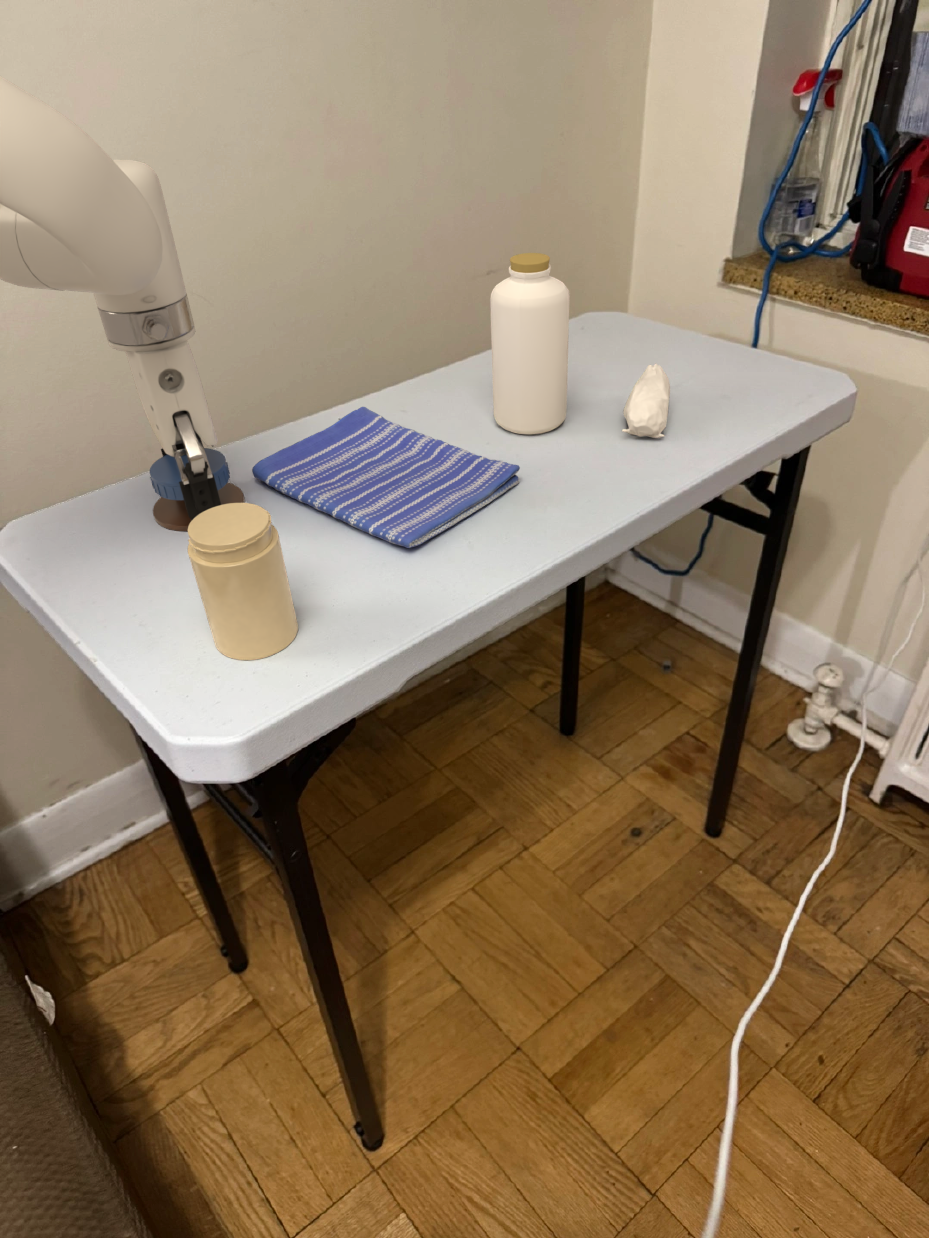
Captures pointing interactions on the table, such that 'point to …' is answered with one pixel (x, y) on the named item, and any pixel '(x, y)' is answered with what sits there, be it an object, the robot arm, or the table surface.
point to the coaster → (175, 511)
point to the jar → (242, 580)
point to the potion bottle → (530, 346)
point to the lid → (168, 475)
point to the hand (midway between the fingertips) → (195, 496)
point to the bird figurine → (648, 404)
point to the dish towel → (386, 478)
